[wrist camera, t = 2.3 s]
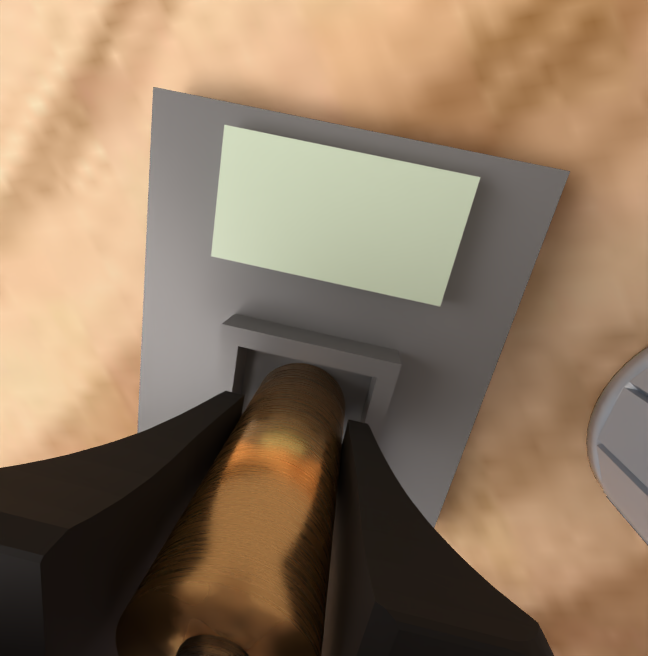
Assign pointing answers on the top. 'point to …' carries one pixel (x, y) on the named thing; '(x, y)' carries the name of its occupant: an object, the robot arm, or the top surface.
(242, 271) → the battery tester
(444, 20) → the top surface
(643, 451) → the cup
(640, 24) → the top surface
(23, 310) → the top surface
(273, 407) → the copper cell
